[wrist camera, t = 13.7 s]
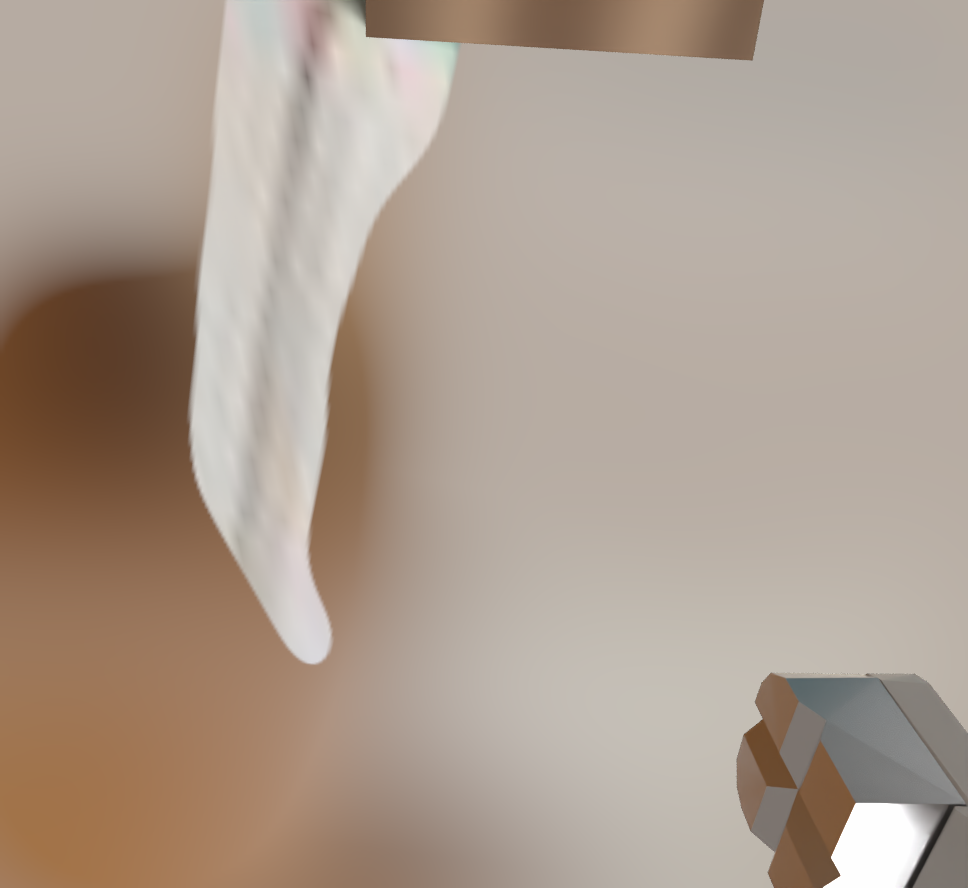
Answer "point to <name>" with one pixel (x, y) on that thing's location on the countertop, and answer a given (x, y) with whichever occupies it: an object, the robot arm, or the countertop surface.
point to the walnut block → (578, 24)
